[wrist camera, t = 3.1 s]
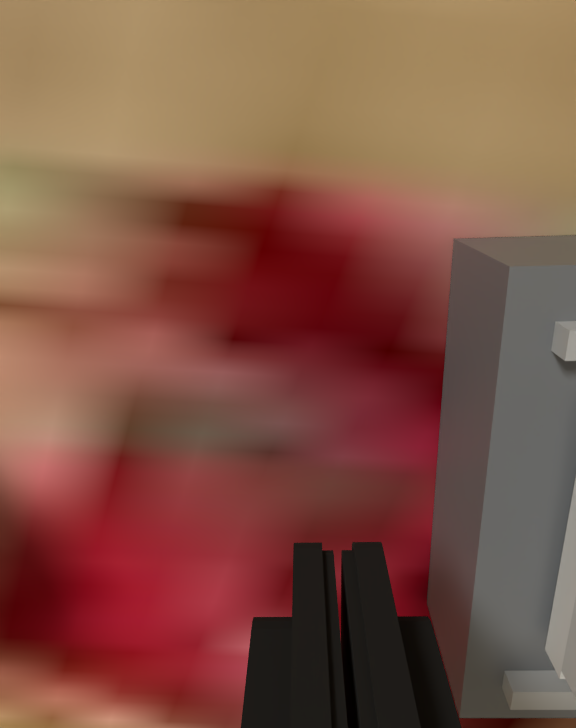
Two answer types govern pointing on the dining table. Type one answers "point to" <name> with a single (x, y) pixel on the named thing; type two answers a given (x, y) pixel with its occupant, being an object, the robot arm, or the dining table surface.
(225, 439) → the dining table surface
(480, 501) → the grey sliding cover box
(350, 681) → the robot arm
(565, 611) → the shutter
